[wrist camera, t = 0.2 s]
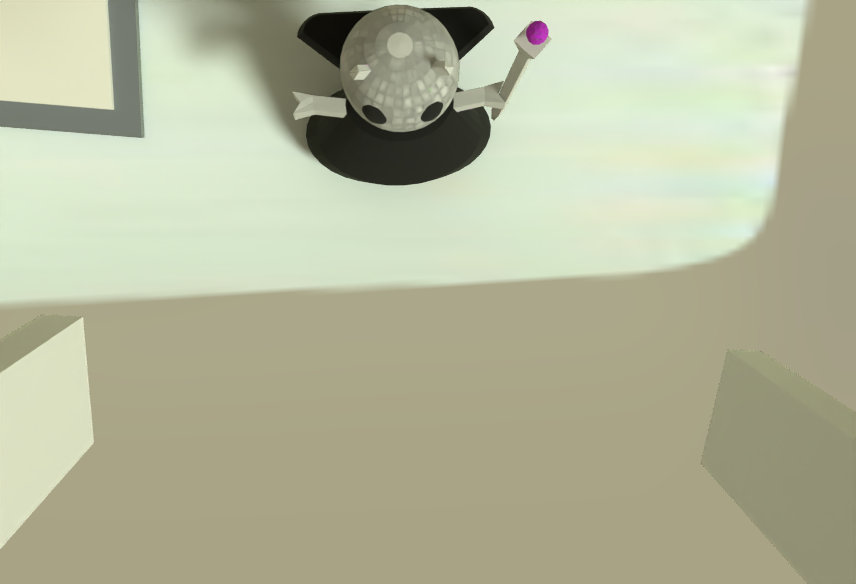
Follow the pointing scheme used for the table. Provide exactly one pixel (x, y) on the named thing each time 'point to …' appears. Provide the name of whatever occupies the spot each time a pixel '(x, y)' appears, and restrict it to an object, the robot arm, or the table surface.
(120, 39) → the grey framed cream board
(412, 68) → the toy
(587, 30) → the table surface
